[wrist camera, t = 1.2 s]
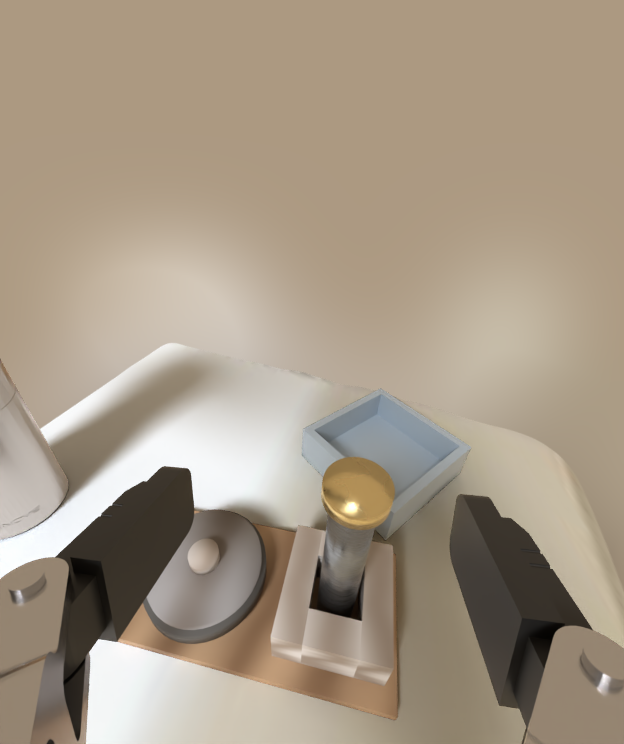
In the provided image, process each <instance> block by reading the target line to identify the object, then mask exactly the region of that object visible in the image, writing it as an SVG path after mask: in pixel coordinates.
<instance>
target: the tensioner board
mask: <svg viewBox="0 0 624 744" xmlns="http://www.w3.org/2000/svg"><path fill="white" fill-rule="evenodd" d="M325 536H326V531H324V530H319V529H314V528H310V527H305V526H300V525H298V528H297V532H291V531H286V530H282V529H277V528H273V527H268V526H263V525H259V524H254V523H251V522H250V521H249V520H248V519H246V518H245V517H243V516H241V515H239V514H236V513H233V512H230V511H225V510H207V511H202V512H199V511H194V519H193V523H192V526H191V529H190V531H189V533H188V534H187V536H186V537H185V539H184V540H183V542H182V543H181V545H180V546H179V548H178V550H177V551H176V553H175V554H174V556H173V557H172V559H171V560H170V562H169V563H168V565H167V566H166V568H165V569H164V571H163V573H162V574H161V576H160V577H159V579H158V580H157V582H156V583H155V585H154V586H153V588H152V589H151V591H150V592H149V594H148V595H147V597H146V599H145V600H144V602H143V603H142V605H141V606H140V608H139V609H138V611H137V612H136V614H135V615H134V617H133V618H132V620H131V622H130V623H129V625H128V626H127V628H126V629H125V631H124V632H123V634H122V635H121V637H120V638H119V640H118V641H117V642H120V643H124V644H128V645H131V646H135V647H138V648H142V649H145V650H149V651H152V652H156V653H159V654H163V655H166V656H170V657H173V658H177V659H181V660H184V661H188V662H191V663H195V664H198V665H202V666H205V667H209V668H212V669H216V670H219V671H223V672H226V673H230V674H234V675H237V676H241V677H244V678H248V679H251V680H255V681H258V682H262V683H265V684H269V685H272V686H276V687H279V688H283V689H287V690H290V691H294V692H297V693H301V694H304V695H308V696H311V697H315V698H318V699H322V700H325V701H329V702H332V703H336V704H340V705H343V706H347V707H350V708H354V709H357V710H361V711H364V712H368V713H371V714H375V715H378V716H382V717H385V718H389V719H393V720H396V718H397V717H398V701H397V623H396V554H393V545H389V544H384V543H380V542H375V541H371V545H370V549H369V552H368V556H367V560H366V563H365V567H364V571H363V574H362V578H361V582H360V586H359V589H358V593H357V597H356V600H355V604H354V608H353V611H352V615H351V618H347V617H343V616H339V615H335V614H330V613H326V612H322V611H318V610H317V599H318V591H319V583H320V575H321V567H322V559H323V551H324V543H325Z"/></svg>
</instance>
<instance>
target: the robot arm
mask: <svg viewBox="0 0 624 744" xmlns="http://www.w3.org/2000/svg"><path fill="white" fill-rule="evenodd" d="M68 484H69V483H68V480H67V477H66V475H65V473H64V472H63V470H62V468H61V466H60V465H59V463H58V461H57V459H56V457H55V455H54V454H53V452H52V450H51V448H50V446H49V445H48V443H47V441H46V439H45V438H44V436H43V434H42V432H41V430H40V429H39V427H38V425H37V423H36V422H35V420H34V418H33V416H32V415H31V413H30V411H29V409H28V407H27V406H26V404H25V402H24V400H23V398H22V397H21V395H20V393H19V391H18V390H17V388H16V386H15V384H14V383H13V381H12V379H11V377H10V376H9V374H8V372H7V371H6V368H5V367H4V365H3V363H2V362H1V360H0V540H1V539H5V538H9V537H13V536H15V535H18V534H20V533H23V532H25V531H27V530H29V529H30V528H32V527H34V526H36V525H37V524H39V523H40V522H42V521H43V520H45V519H46V518H47V517H48V516H49V515H51V514H52V513H53V512H54V511H55V510H56V509H57V508H58V506H59V505H60V504H61V503H62V501H63V500H64V498H65V496H66V494H67V491H68ZM193 519H194V501H193V491H192V480H191V473H190V471H189V469H187V468H177V467H166V466H164V467H161V468H160V469H159V470H158V471H157V472H156V473H155V474H154V475H153V476H152V477H151V478H150V479H149V480H148V481H147V482H145V481H143V482H141V483H139V484H138V485H136V486H134V487H132V488H130V489H129V490H127V491H125V492H124V493H123V494H122V495H121V496H120V497H119V498H118V499H117V500H116V501H115V502H114V503H113V505H112V506H109V507H108V508H107V509H106V510H105V511H104V512H103V513H102V515H101V517H98V518H97V519H95V520H94V521H93V522H92V523H91V524H90V525H89V526H88V527H87V528H86V529H85V530H84V531H83V532H82V533H80V534H79V535H78V536H77V537H76V538H75V539H74V540H73V541H72V542H71V543H70V544H69V545H68V546H67V547H66V548H64V549H63V550H62V551H61V552H60V553H59V554H58V555H57V556H56V557H55V558H54V557H50V558H42V559H38V560H34V561H32V562H29V563H26V564H24V565H22V566H20V567H18V568H16V569H14V570H13V571H11V572H9V573H8V574H6V575H5V576H4V577H2V578H1V579H0V744H86V729H87V710H88V692H89V674H90V655H89V651H90V650H91V649H92V647H93V646H94V644H95V643H96V641H97V640H98V639H102V640H108V641H114V642H117V641H118V640H119V638H120V637H121V635H122V634H123V632H124V631H125V629H126V628H127V626H128V625H129V623H130V622H131V620H132V618H133V617H134V615H135V614H136V612H137V611H138V609H139V608H140V606H141V605H142V603H143V602H144V600H145V599H146V597H147V595H148V594H149V592H150V591H151V589H152V588H153V586H154V585H155V583H156V582H157V580H158V579H159V577H160V576H161V574H162V573H163V571H164V569H165V568H166V566H167V565H168V563H169V562H170V560H171V559H172V557H173V556H174V554H175V553H176V551H177V550H178V548H179V546H180V545H181V543H182V542H183V540H184V539H185V537H186V536H187V534H188V533H189V531H190V529H191V526H192V523H193ZM450 555H451V561H452V565H453V568H454V571H455V574H456V577H457V580H458V583H459V586H460V589H461V592H462V595H463V598H464V601H465V604H466V607H467V610H468V613H469V616H470V619H471V622H472V625H473V628H474V631H475V634H476V637H477V640H478V643H479V646H480V649H481V652H482V655H483V658H484V661H485V664H486V667H487V670H488V673H489V676H490V679H491V682H492V685H493V688H494V691H495V694H496V697H497V700H498V703H499V705H500V706H506V707H512V708H518V709H520V711H521V714H522V717H523V719H524V722H525V725H526V730H525V733H524V736H523V740H522V743H521V744H624V648H622V647H621V646H619V645H618V644H617V643H615V642H614V641H612V640H611V639H609V638H607V637H606V636H604V635H602V634H600V633H598V632H595V631H593V629H592V628H591V626H590V625H589V623H588V622H587V620H586V619H585V617H584V616H583V614H582V613H581V611H580V610H579V608H578V607H577V605H576V604H575V602H574V601H573V599H572V598H571V596H570V595H569V593H568V592H567V590H566V589H565V587H564V586H563V584H562V583H561V581H560V580H559V578H558V577H557V575H556V574H555V572H554V571H553V569H550V565H549V563H548V562H547V560H546V559H545V557H544V556H543V554H540V550H539V548H538V547H537V545H536V544H535V542H534V541H533V539H532V538H531V536H530V535H529V533H528V532H526V531H525V530H524V529H523V528H522V527H520V526H519V525H518V524H517V523H516V522H515V521H513V520H512V519H511V518H503V517H501V516H500V514H499V512H498V511H497V509H496V507H495V506H494V504H493V502H492V501H491V499H490V498H489V497H484V496H473V495H462V494H460V495H458V497H457V500H456V505H455V511H454V518H453V524H452V530H451V536H450Z"/></svg>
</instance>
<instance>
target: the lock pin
mask: <svg viewBox="0 0 624 744" xmlns="http://www.w3.org/2000/svg"><path fill="white" fill-rule="evenodd" d="M394 497H395V487H394V483H393V481H392V479H391V477H390V475H389V474H388V473H387V472H386V470H385V469H383V468H382V467H381V466H380V465H378V464H377V463H375V462H373V461H371V460H368V459H365V458H360V457H346V458H342V459H339V460H337V461H335V462H334V463H332V464H331V465H330V466H329V467H328V468H327V470H326V471H325V473H324V476H323V482H322V492H321V498H322V503H323V506H324V508H325V510H326V512H327V513H328V520H327V528H326V536H325V543H324V551H323V559H322V567H321V575H320V583H319V591H318V599H317V610H318V611H322V612H326V613H330V614H335V615H339V616H343V617H347V618H351V615H352V611H353V608H354V604H355V600H356V597H357V593H358V589H359V586H360V582H361V578H362V574H363V571H364V567H365V563H366V560H367V556H368V552H369V549H370V545H371V541H372V538H373V534H374V530H375V527H377V526H379V525H380V524H382V523H383V522H384V521H385V520H386V519H387V517H388V515H389V513H390V510H391V507H392V504H393V500H394Z"/></svg>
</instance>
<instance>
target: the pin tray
mask: <svg viewBox="0 0 624 744" xmlns="http://www.w3.org/2000/svg"><path fill="white" fill-rule="evenodd" d="M470 449H471V447H470V446H469V445H467V444H466V443H464V442H462V441H461V440H459V439H458V438H456V437H455V436H453V435H452V434H450V433H449V432H447V431H446V430H444V429H442V428H441V427H439V426H438V425H436V424H435V423H433V422H432V421H430V420H429V419H427V418H426V417H424V416H422V415H421V414H419V413H418V412H416V411H415V410H413V409H412V408H410V407H409V406H407V405H406V404H404V403H402V402H401V401H399V400H398V399H396V398H395V397H393V396H392V395H390V394H389V393H387V392H385V391H384V390H382V389H379V390H377V391H375V392H373V393H371V394H369V395H367V396H365V397H363V398H361V399H359V400H357V401H356V402H354V403H352V404H350V405H348V406H346V407H344V408H342V409H340V410H338V411H336V412H334V413H332V414H331V415H329V416H327V417H325V418H323V419H321V420H319V421H317V422H315V423H313V424H311V425H309V426H308V427H306V428H304V429H303V445H302V456H303V457H304V458H305V459H306V460H307V461H308V462H309V463H310V464H311V465H312V466H313V467H314V468H315V469H316V470H317V471H318V472H319V473H320V474H321V475H322V476H324V473H325V471H326V470H327V468H328V467H329V466H330V465H331V464H332V463H334V462H335V461H337V460H339V459H342V458H346V457H360V458H365V459H368V460H371V461H373V462H375V463H377V464H378V465H380V466H381V467H382V468H383V469H385V470H386V472H387V473H388V474H389V475H390V477H391V479H392V481H393V483H394V487H395V497H394V500H393V504H392V507H391V510H390V513H389V515H388V517H387V519H386V520H385V521H384V522H383V523H382V524H380V525H379V526H377V527H375V530H376V531H377V532H378V533H379V534H380V535H381V536H382V537H383V538H384V539H385V540H387V539H388V538H389V537H390V536H391V535H392V534H393V533H394V532H395V531H397V530H398V529H399V528H400V527H401V526H402V525H403V524H404V523H405V522H407V521H408V520H409V519H410V518H411V517H412V516H413V515H414V514H415V513H417V512H418V511H419V510H420V509H421V508H422V507H423V506H424V505H425V504H427V503H428V502H429V501H430V500H431V499H432V498H433V497H434V496H435V495H436V494H438V493H439V492H440V491H441V490H442V489H443V488H444V487H445V486H446V485H448V484H449V483H450V482H451V481H452V480H453V479H454V478H455V477H456V476H458V475H459V474H460V472H461V469H462V467H463V465H464V463H465V461H466V458H467V456H468V454H469V452H470Z"/></svg>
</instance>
